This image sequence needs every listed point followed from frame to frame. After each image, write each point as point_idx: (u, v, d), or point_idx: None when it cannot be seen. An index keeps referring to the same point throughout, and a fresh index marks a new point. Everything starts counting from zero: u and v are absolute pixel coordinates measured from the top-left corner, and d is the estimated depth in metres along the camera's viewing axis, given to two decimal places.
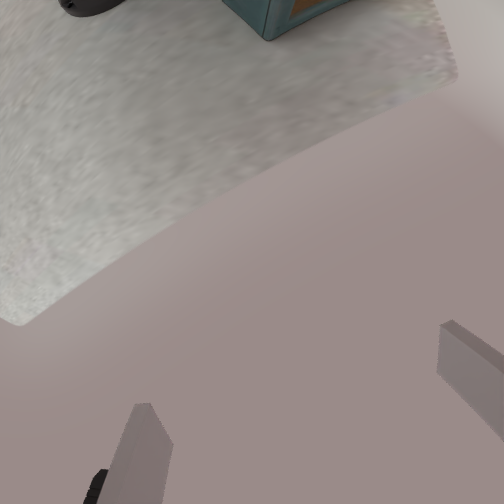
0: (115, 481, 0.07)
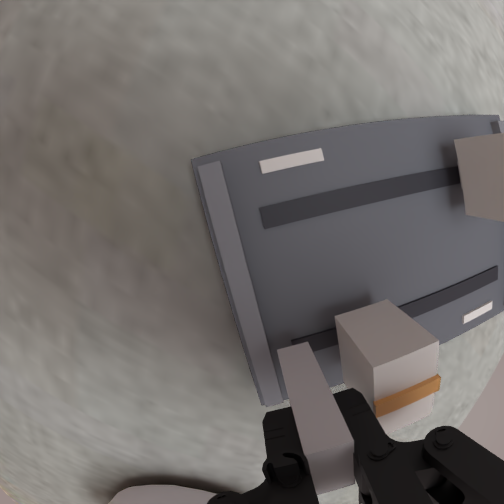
0: (305, 409, 0.09)
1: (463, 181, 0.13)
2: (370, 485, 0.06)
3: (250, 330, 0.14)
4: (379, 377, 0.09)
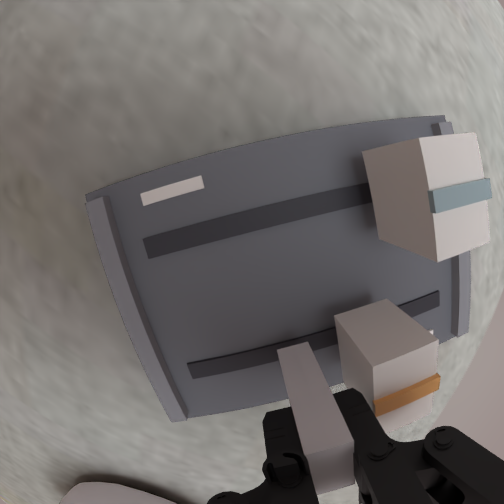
0: (305, 409, 0.09)
1: (373, 200, 0.13)
2: (370, 485, 0.06)
3: (143, 352, 0.14)
4: (378, 376, 0.09)
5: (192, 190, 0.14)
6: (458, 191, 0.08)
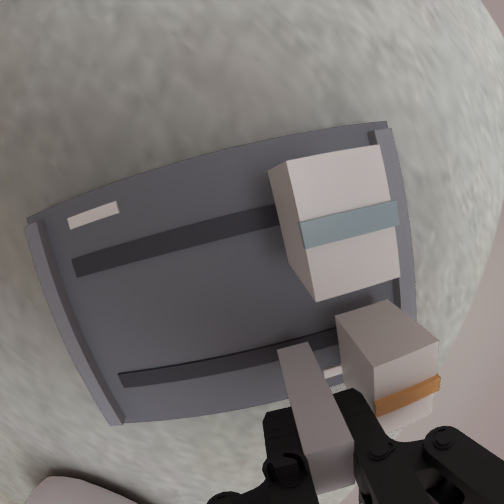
0: (305, 409, 0.09)
1: (280, 223, 0.13)
2: (370, 485, 0.06)
3: (77, 360, 0.14)
4: (379, 376, 0.09)
5: (109, 215, 0.14)
6: (342, 220, 0.08)
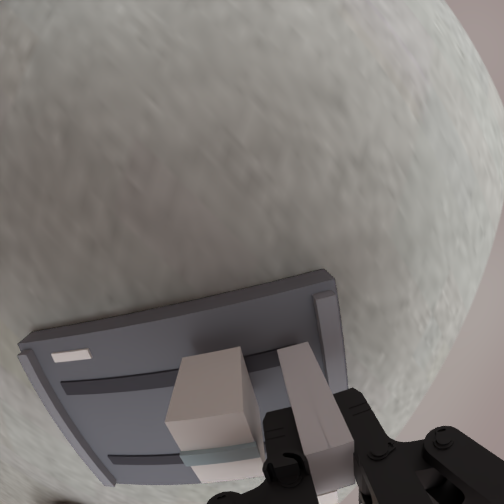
0: (305, 409, 0.09)
1: None
2: (370, 485, 0.06)
3: (75, 446, 0.16)
4: None
5: (84, 358, 0.15)
6: (210, 456, 0.09)
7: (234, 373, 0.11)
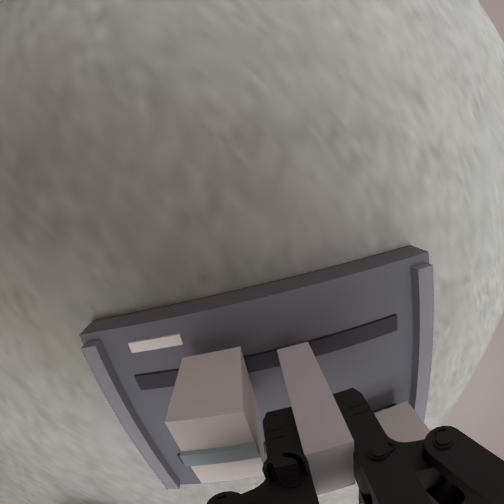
0: (305, 409, 0.09)
1: None
2: (370, 485, 0.06)
3: (142, 448, 0.16)
4: None
5: (173, 344, 0.15)
6: (210, 456, 0.09)
7: (234, 373, 0.11)
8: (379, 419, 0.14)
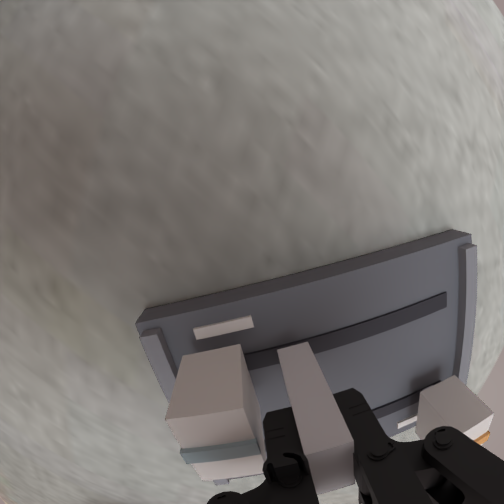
0: (305, 409, 0.09)
1: None
2: (370, 485, 0.06)
3: None
4: None
5: (242, 328, 0.15)
6: (210, 453, 0.09)
7: (234, 370, 0.12)
8: (433, 393, 0.15)
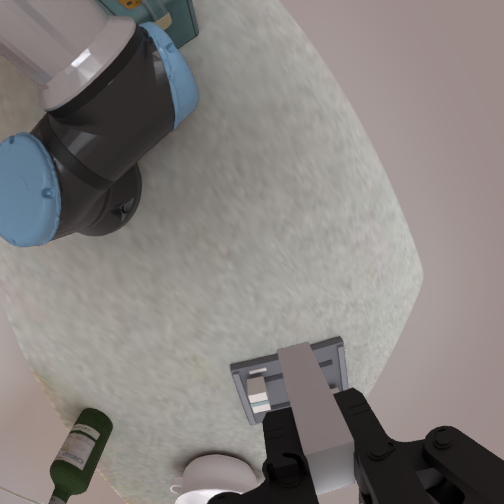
0: (305, 409, 0.09)
1: None
2: (370, 485, 0.06)
3: (246, 407, 0.51)
4: None
5: (263, 370, 0.50)
6: (257, 403, 0.44)
7: (262, 383, 0.46)
8: None
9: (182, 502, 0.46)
